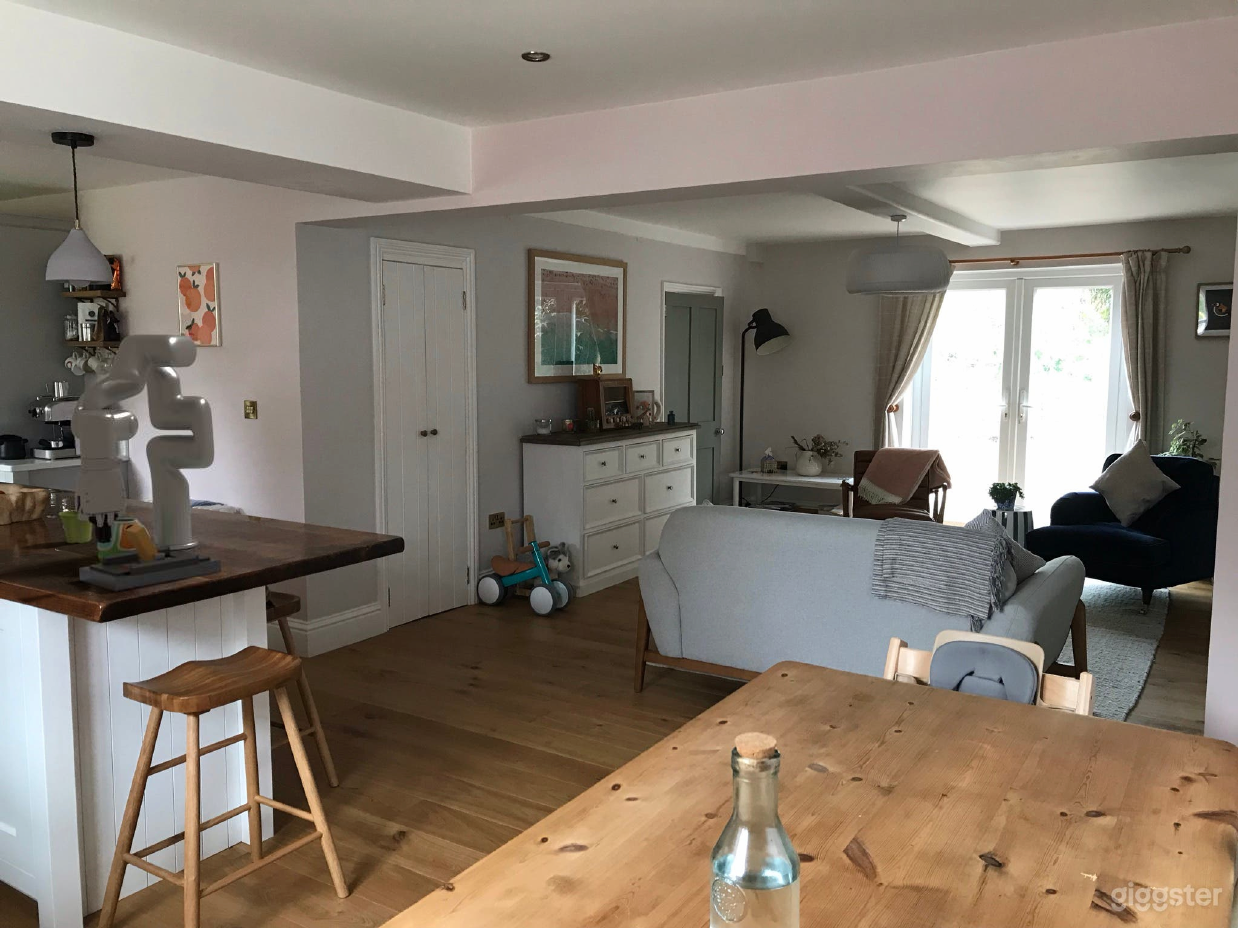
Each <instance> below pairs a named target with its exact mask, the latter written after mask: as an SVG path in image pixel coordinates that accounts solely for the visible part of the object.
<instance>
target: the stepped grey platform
mask: <svg viewBox="0 0 1238 928" xmlns="http://www.w3.org/2000/svg"><path fill="white" fill-rule="evenodd" d="M156 550H157V551H158V553H165V554H167V553H170V552H171V550H170V547H168V546H164V547H157V548H156ZM199 555H200V554H198V555H189V556H183V557H177V558H171V559H165V560H159V561H153V562H147V563H141V564H136V565H130V575H133V576H136V575H142V574H147V573H153V572H159V571H164V570H170V569H175V568H181V567H187V566H192V565H198V564H199ZM133 561H137V551H132V552H126V553H120V554H113V555H107V556H103V558H102V563H106V564H107V563H116V564H121V563H127V562H133Z"/></svg>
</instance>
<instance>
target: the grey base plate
mask: <svg viewBox="0 0 1238 928" xmlns="http://www.w3.org/2000/svg"><path fill="white" fill-rule="evenodd" d="M189 555H199V564H198V565H192V566H187V567H181V568H175V569H170V570H164V571H159V572H153V573H147V574H142V575H136V576H133V575H130V565H136V564H141V563H147V562H145V561H142V559H141V557H140V556H139V554H138V552H137V561H133V562H127V563H121V564H116V563H107V564H106V563H102V564H99V563H98V564H97V563H96V564H91V565H89V566H83V567H79V568H78V570H79V581H80V582H81V581H82V582H84V583H87V584H91V585H94V586H98V587H101V588H103V587H104V589H107V590H110V591H113V590H114V591H113V592H119V590H120V591H124V590H130V589H135V587H136V588H140V587H146V586H151V585H156V584H161V583H167V582H172V581H178V580H182V579H188V578H192V577H199V576H204V575H208V574H209V575H210V574H216V573H220V572H221V573H222V568H221V567H222V566H221V563H222V562H221V559H219V558H215V557H210V556H205V555H203V554H197V553H194V552H189V551H185V550H174V551H170V553H167V554H165V553H158V554H153V561H159V560H165V559H171V558H177V557H183V556H189Z"/></svg>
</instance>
